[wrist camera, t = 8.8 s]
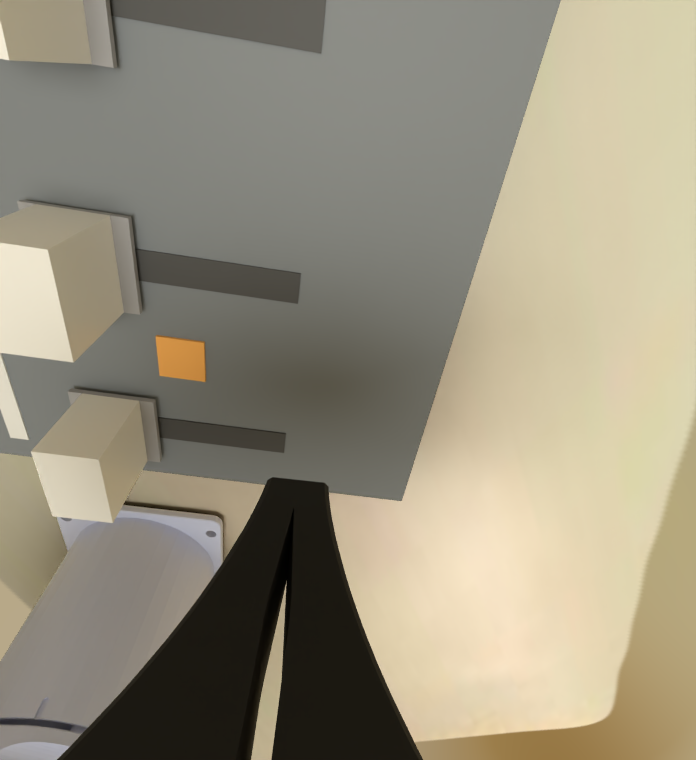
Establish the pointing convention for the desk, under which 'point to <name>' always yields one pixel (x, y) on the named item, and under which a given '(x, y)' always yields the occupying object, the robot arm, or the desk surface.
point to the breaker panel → (276, 219)
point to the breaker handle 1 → (57, 31)
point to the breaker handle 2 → (96, 454)
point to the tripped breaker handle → (63, 278)
